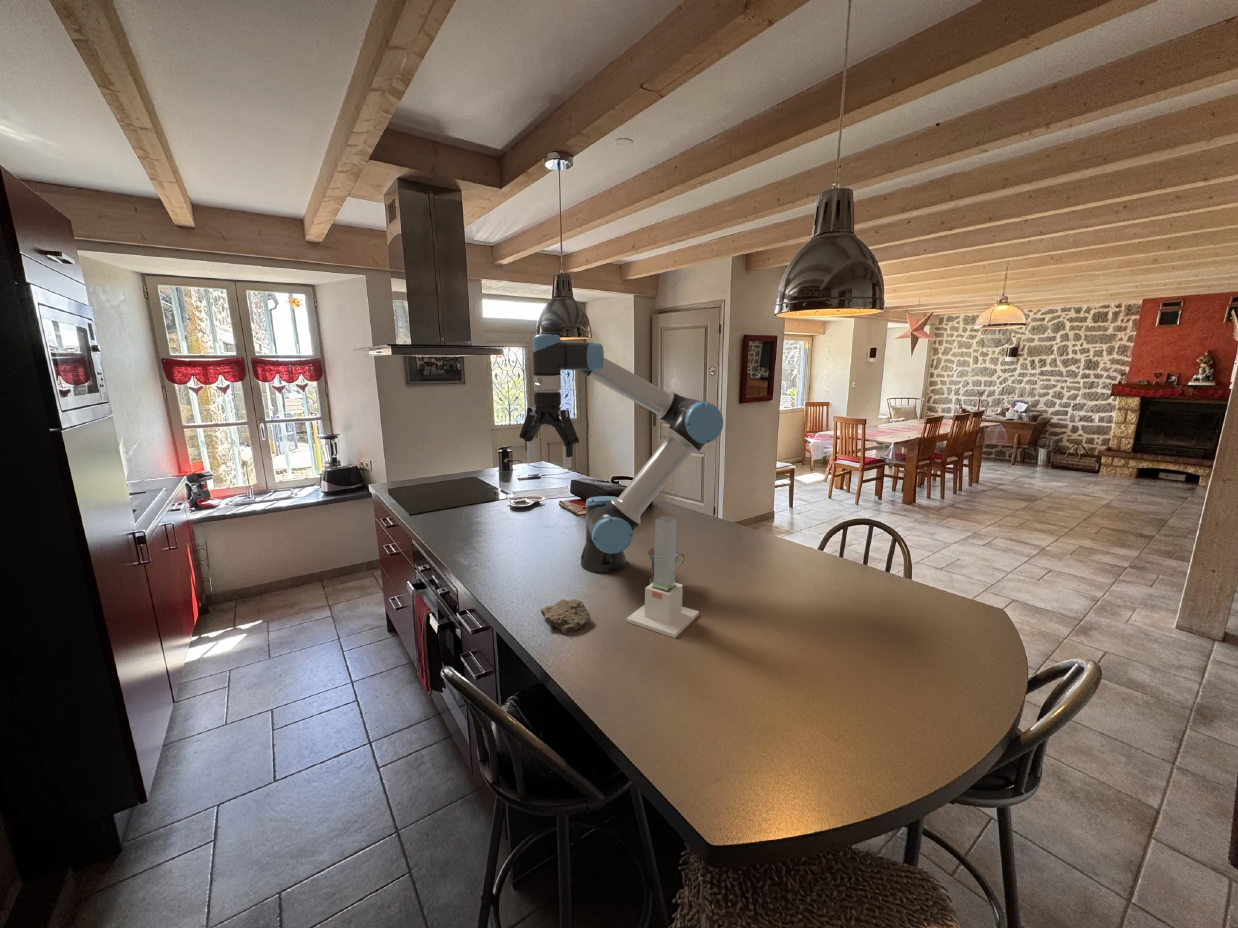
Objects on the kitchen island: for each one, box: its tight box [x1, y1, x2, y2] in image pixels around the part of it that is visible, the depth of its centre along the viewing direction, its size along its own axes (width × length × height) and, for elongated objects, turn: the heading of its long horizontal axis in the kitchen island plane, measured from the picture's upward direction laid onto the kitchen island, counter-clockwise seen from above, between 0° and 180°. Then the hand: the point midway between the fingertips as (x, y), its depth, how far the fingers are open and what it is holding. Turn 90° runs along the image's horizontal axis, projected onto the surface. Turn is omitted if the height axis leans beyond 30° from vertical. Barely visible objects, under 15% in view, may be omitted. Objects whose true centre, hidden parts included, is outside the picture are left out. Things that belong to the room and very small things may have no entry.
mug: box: [647, 547, 685, 585], centre depth 149 cm, size 12×9×11 cm
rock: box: [540, 598, 591, 636], centre depth 127 cm, size 11×12×4 cm
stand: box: [626, 582, 700, 639], centre depth 128 cm, size 14×14×9 cm
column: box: [653, 515, 678, 593], centre depth 126 cm, size 4×4×20 cm
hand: (548, 465), depth 142 cm, fingers open, 13 cm apart
